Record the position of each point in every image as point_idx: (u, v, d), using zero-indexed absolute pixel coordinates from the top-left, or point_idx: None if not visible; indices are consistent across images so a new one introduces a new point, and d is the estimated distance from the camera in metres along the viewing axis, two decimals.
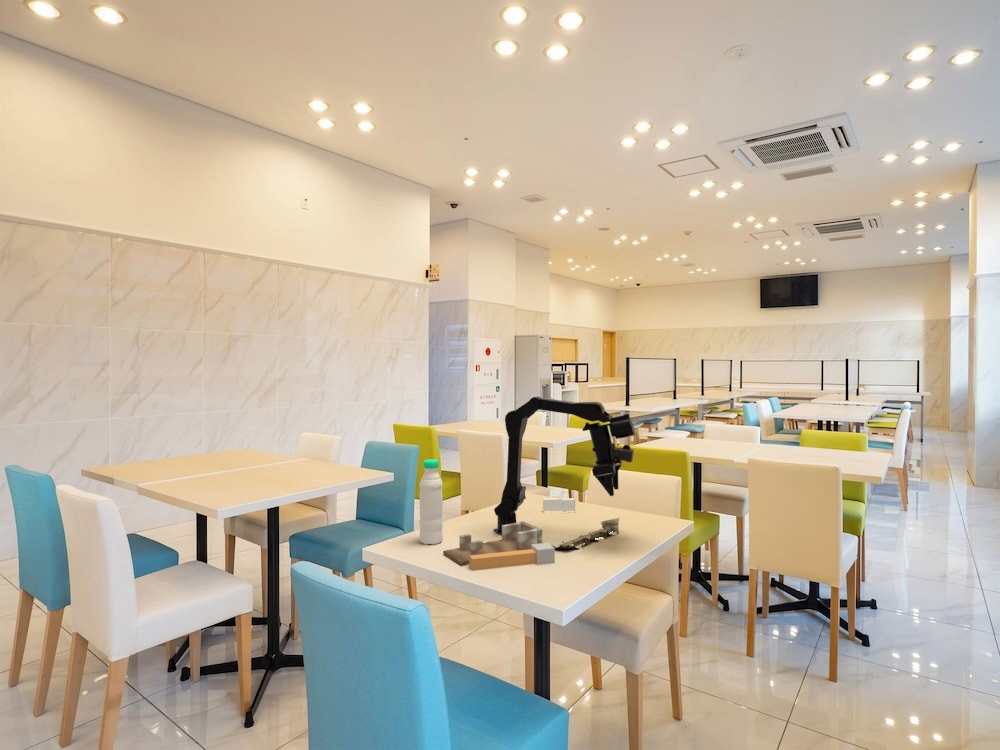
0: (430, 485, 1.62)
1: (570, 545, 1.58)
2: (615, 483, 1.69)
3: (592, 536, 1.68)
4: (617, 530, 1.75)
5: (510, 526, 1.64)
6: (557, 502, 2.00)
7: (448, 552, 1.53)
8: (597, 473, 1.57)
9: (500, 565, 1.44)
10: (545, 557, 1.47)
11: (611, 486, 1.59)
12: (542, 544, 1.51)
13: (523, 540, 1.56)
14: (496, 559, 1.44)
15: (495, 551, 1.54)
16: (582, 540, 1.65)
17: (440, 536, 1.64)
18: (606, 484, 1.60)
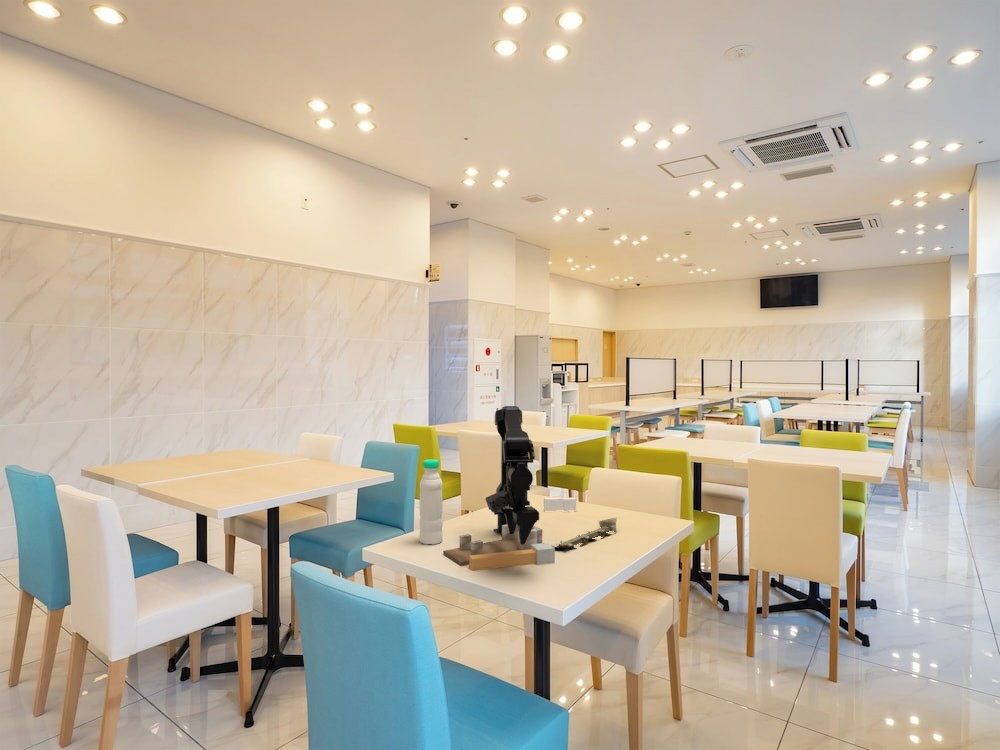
0: (430, 485, 1.62)
1: (568, 545, 1.59)
2: None
3: (590, 536, 1.69)
4: (615, 530, 1.75)
5: None
6: (558, 501, 2.01)
7: (448, 552, 1.53)
8: None
9: (500, 565, 1.44)
10: (545, 557, 1.47)
11: None
12: (542, 544, 1.51)
13: None
14: (496, 559, 1.44)
15: (495, 551, 1.54)
16: (580, 540, 1.65)
17: (440, 536, 1.64)
18: None
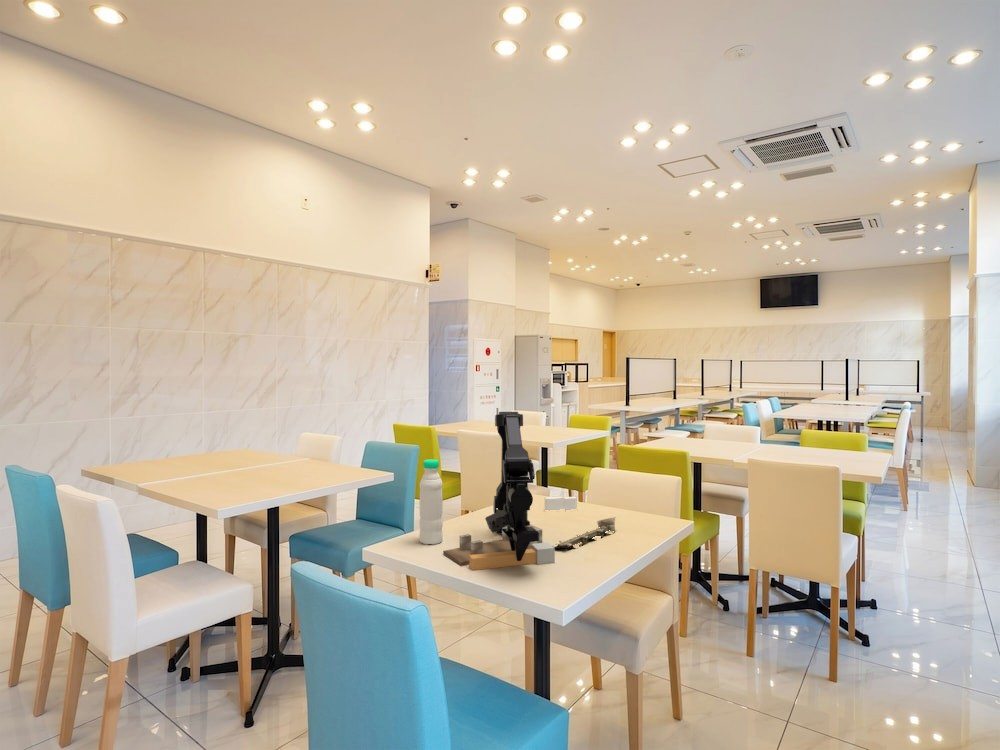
0: (430, 485, 1.62)
1: (568, 544, 1.59)
2: None
3: (589, 535, 1.69)
4: (613, 529, 1.76)
5: None
6: (558, 501, 2.02)
7: (448, 552, 1.53)
8: None
9: (500, 565, 1.44)
10: (545, 556, 1.47)
11: None
12: (542, 544, 1.51)
13: None
14: (496, 558, 1.44)
15: (495, 551, 1.54)
16: (579, 539, 1.65)
17: (440, 536, 1.64)
18: None
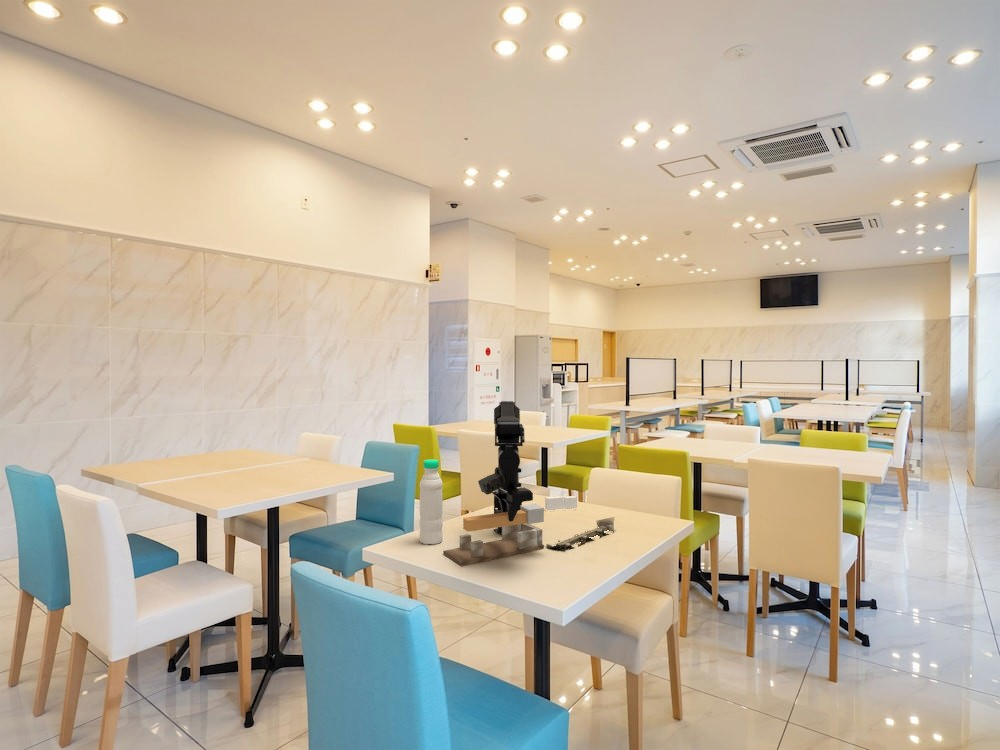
0: (430, 485, 1.62)
1: (566, 544, 1.59)
2: None
3: (588, 535, 1.69)
4: (612, 529, 1.76)
5: (510, 526, 1.64)
6: (559, 500, 2.03)
7: (448, 552, 1.53)
8: None
9: (493, 526, 1.49)
10: (535, 516, 1.53)
11: None
12: (531, 505, 1.57)
13: (523, 540, 1.56)
14: (490, 519, 1.48)
15: (495, 551, 1.54)
16: (578, 539, 1.66)
17: (440, 536, 1.64)
18: None
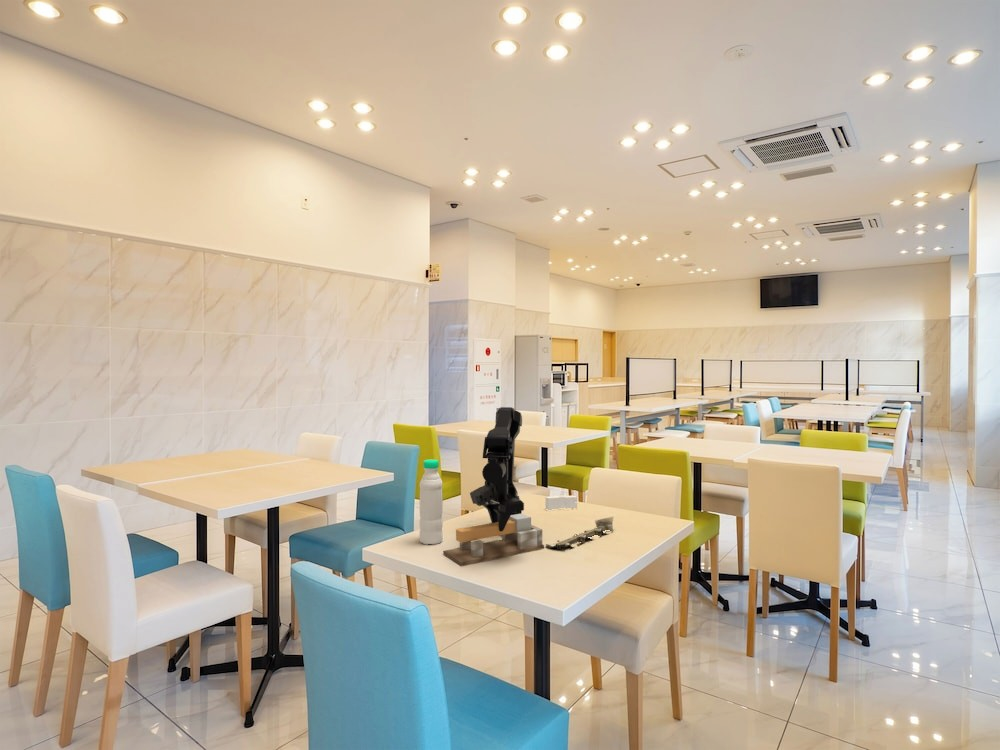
0: (430, 485, 1.62)
1: (566, 544, 1.59)
2: None
3: (587, 535, 1.70)
4: (611, 529, 1.76)
5: None
6: (559, 500, 2.04)
7: (448, 552, 1.53)
8: None
9: (485, 536, 1.54)
10: (523, 526, 1.59)
11: None
12: (518, 515, 1.63)
13: (523, 540, 1.56)
14: (482, 530, 1.53)
15: (495, 551, 1.54)
16: (577, 539, 1.66)
17: (440, 536, 1.64)
18: None
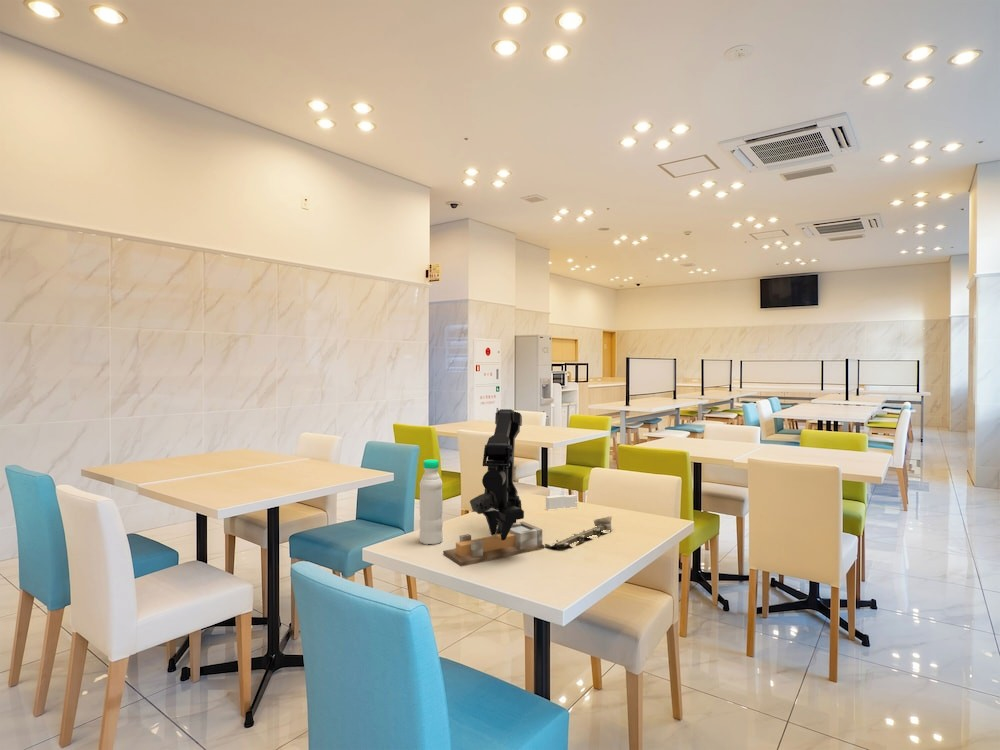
0: (430, 485, 1.62)
1: (565, 544, 1.60)
2: None
3: (585, 534, 1.70)
4: (610, 528, 1.77)
5: None
6: (560, 499, 2.04)
7: (448, 552, 1.53)
8: None
9: (485, 549, 1.54)
10: None
11: None
12: (517, 527, 1.63)
13: (523, 540, 1.56)
14: None
15: (495, 551, 1.54)
16: (576, 539, 1.66)
17: (440, 536, 1.64)
18: None
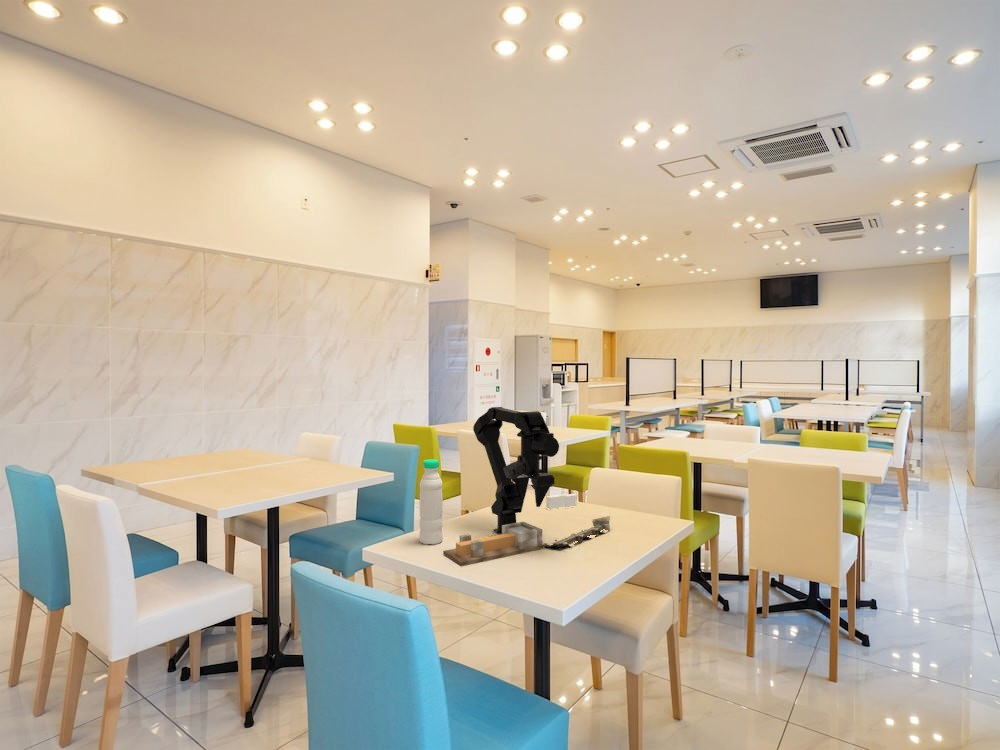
0: (430, 485, 1.62)
1: (564, 543, 1.60)
2: None
3: (584, 534, 1.70)
4: (608, 528, 1.77)
5: (510, 526, 1.64)
6: (560, 498, 2.05)
7: (448, 552, 1.53)
8: None
9: (485, 549, 1.54)
10: None
11: None
12: (517, 527, 1.63)
13: (523, 540, 1.56)
14: None
15: (495, 551, 1.54)
16: (575, 538, 1.66)
17: (440, 536, 1.64)
18: None
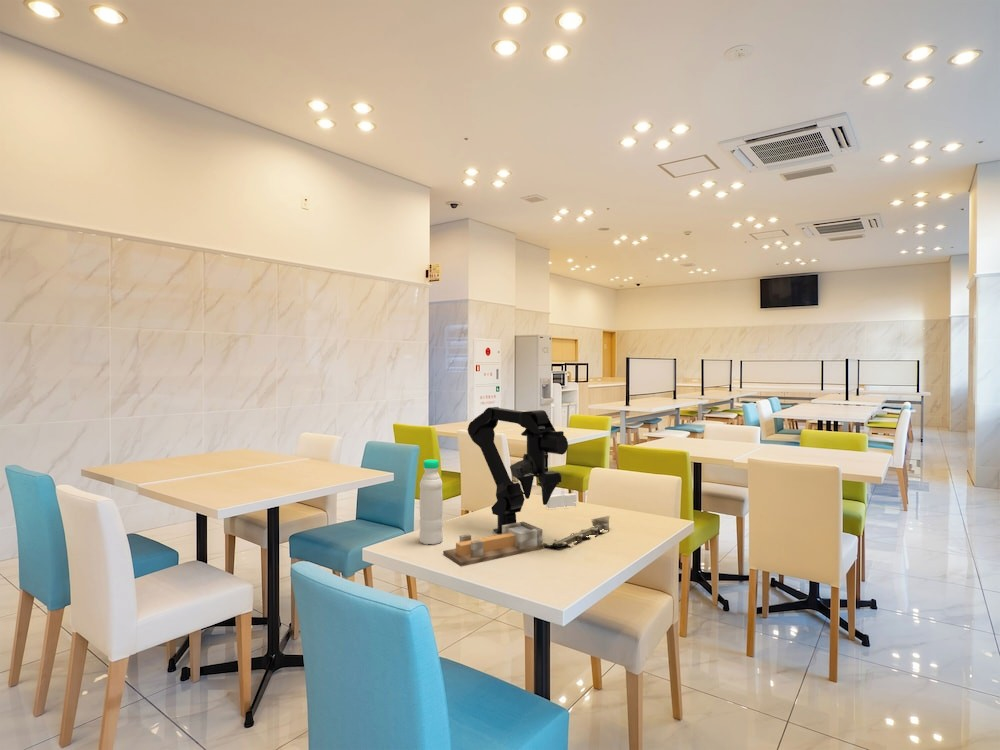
0: (430, 485, 1.62)
1: (563, 543, 1.60)
2: None
3: (584, 534, 1.70)
4: (607, 528, 1.77)
5: (510, 526, 1.64)
6: (560, 498, 2.06)
7: (448, 552, 1.53)
8: None
9: (485, 549, 1.54)
10: None
11: None
12: (517, 527, 1.63)
13: (523, 540, 1.56)
14: None
15: (495, 551, 1.54)
16: (574, 538, 1.67)
17: (440, 536, 1.64)
18: None
